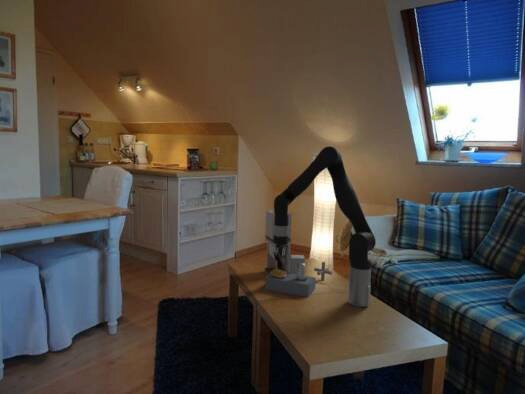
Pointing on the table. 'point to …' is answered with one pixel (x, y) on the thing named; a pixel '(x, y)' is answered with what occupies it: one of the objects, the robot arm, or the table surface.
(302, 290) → the pin block
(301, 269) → the steel pin
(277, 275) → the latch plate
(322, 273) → the pipe connector
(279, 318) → the table surface
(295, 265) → the supplement box
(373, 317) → the table surface
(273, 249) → the display case
